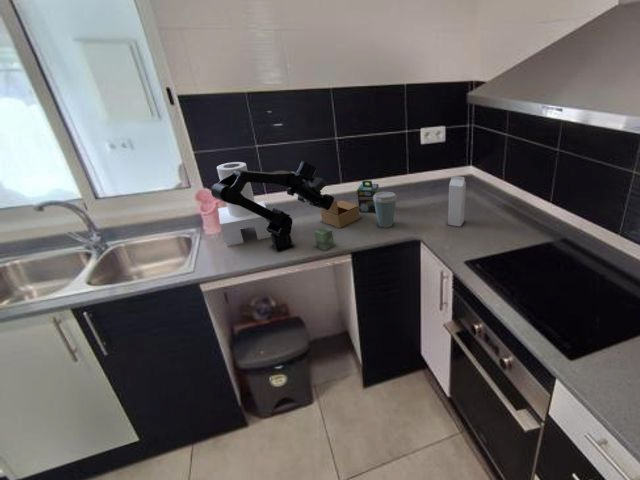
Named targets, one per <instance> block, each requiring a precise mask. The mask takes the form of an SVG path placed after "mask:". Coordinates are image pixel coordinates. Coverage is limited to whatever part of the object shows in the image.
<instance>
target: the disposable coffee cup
mask: <svg viewBox="0 0 640 480" xmlns="http://www.w3.org/2000/svg"><path fill="white" fill-rule="evenodd" d="M397 199H398V195H396V193H395V192H391V191H379V193H376V194H375V195H374V196H373V200H374V205H375V210H376V212H375V215H376V221H377V224H378V226H379V227H380V228H390V227H392V226H393V224H394V218H395V210H396V203H397Z"/></svg>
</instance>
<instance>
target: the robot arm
mask: <svg viewBox="0 0 640 480" xmlns="http://www.w3.org/2000/svg"><path fill="white" fill-rule="evenodd" d="M317 169H318V168H317V167H316V166H315V165H312V164H310V163H308V162H306V161H304V160H302V161H301V162H300V164H299V167H298V169H297V170H296V171H287V170H275V171H271V172H265V171H255V170H248V171H243V170H236V171H234V172H233V173H232V174H231V175H229V176H227V177H225V178H224V179H222V180H221V181H220V180H219V181H218V182H216V183H214V184H213V185H212V186H211V189H210V193H211V196H212V197H213V198H214V199H216V200H219V201H221V202H224V203H225V204H226V203H230V204H234V205H238V206H240V207H242V208H244V209H247V210H249V211H251V212H253V213H255V214H257V215H259V216H261V217H263V218H265V219H266V220H267V221H268V222H269V224H268V226H267V228H266V229H267V231H268V232H269V233H272V234H271V237H270V238H271V242H272V244H271V247H272V248H273V249H274V250H276V251H277V252H281V251H285V250H287V249H290V248H292V247H294V245H293V241H292V235H291V234H292V227H293V218H292V217H291V214H289V213H287V212H284V211H283V210H280V209H277V208H275V207H273V208H272V210H271V209H269V208H267V207H266V208H265V207H263V206H261V205H259V204H257V203H255V202H256V201H255V202H253V201H251V200H249V199H247V198H246V197H244V196H243V195H242V194H241V193H240V192H241V191H242V190H243V188H244V186H245V184H246V183H247V182H250V183H256V184H257V183H258V184H274V185H278V186H282V187H286V194H287V195H288V196H292V197H294V195H295V194H296V195H297V197H296V198H297V201H299V202H300V203H308V204H309V206H312V207H316V208H319V209H320V208H322V209H325V210H329V209H330V207H331V205H332V203H333V201H334V200H335V197H334V196H333V195H331V194H327V193H325V194H322V190H323V189H324V188H325V187H326V186H327V183H326V182H325V180H324V179H323V178H322V177H317V176H316V177H314V175H315V174H316V171H318V170H317ZM307 183H308V184H307ZM322 209H321V210H322Z"/></svg>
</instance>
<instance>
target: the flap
mask: <svg viewBox="0 0 640 480" xmlns="http://www.w3.org/2000/svg"><path fill="white" fill-rule="evenodd" d="M337 202H338V200H335V199H334V201H333V203H332V205H331V207H330V209H329V210H325V209H322V208H319V209H320V210H325V211H329V212H332V213H335V214H338V206H337Z"/></svg>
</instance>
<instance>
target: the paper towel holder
mask: <svg viewBox="0 0 640 480" xmlns="http://www.w3.org/2000/svg"><path fill="white" fill-rule="evenodd" d="M236 170H243V171H249V170H248V166H247V163H246V162H242V161H232V162H226V163H222V164H219V165H217V166H216V171H217V175H218V177H219V178H218V179H219V182H220V181H221V180H222V179H224V178H225V177H227V176H229V175H231V174H232V173H233V172H234V171H236ZM251 183H252V182H247V183H246V184H245V186H244V188H243V190H242V191H241V192H240V193H241V194H242V195H243V196H244V197H246V198H247V199H249V200H251V201H253V202H255V203H257V204H259V205H261V206H263V207H265V208H267V207H266V206H267V205H266V204H265V201H264V200H260V201H255V196H254V192H253V188H252V184H251ZM225 204H226V206H225V207H219V208H217V210H218V211H217V212H218V218H219V225H220V229H221V232H222V235H223V239H224V242H225V246H226V247H230V246H234V245H239V244H244V239H243V234H242V231H241V230H245V229H249V228H254V231H255V233H256V234H255V235H256V238H257V240H259V241H260V240H265V239H269V238H271V234H272V233H269V232H268V231H267V229H266V228H267V226H268V224H269V222H268V221H267V220H266V219H265V218H263V217H261V216H259V215H257V214H255V213H253V212H251V211H249V210H247V209H244V208H242V207H240V206H238V205H234V204H230V203H226V202H225Z"/></svg>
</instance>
